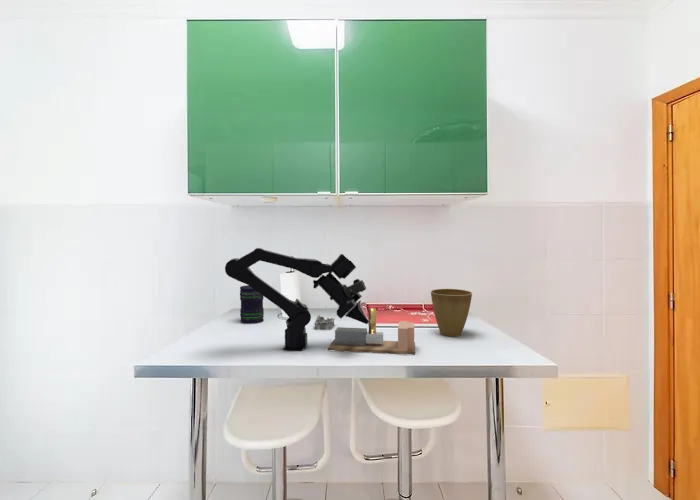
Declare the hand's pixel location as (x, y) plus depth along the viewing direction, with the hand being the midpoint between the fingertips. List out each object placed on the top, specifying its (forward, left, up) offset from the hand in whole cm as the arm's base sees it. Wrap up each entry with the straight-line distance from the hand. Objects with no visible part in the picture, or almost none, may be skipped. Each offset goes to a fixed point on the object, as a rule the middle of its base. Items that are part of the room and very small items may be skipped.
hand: (367, 322), depth 132 cm
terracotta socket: (+13, 0, -7) cm, 14 cm away
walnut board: (+1, 0, -8) cm, 8 cm away
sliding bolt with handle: (-2, 0, -6) cm, 7 cm away
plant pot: (+28, +22, -8) cm, 37 cm away
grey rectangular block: (-6, 0, -7) cm, 9 cm away
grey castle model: (-21, +26, -9) cm, 34 cm away
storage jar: (-54, +31, -8) cm, 62 cm away
